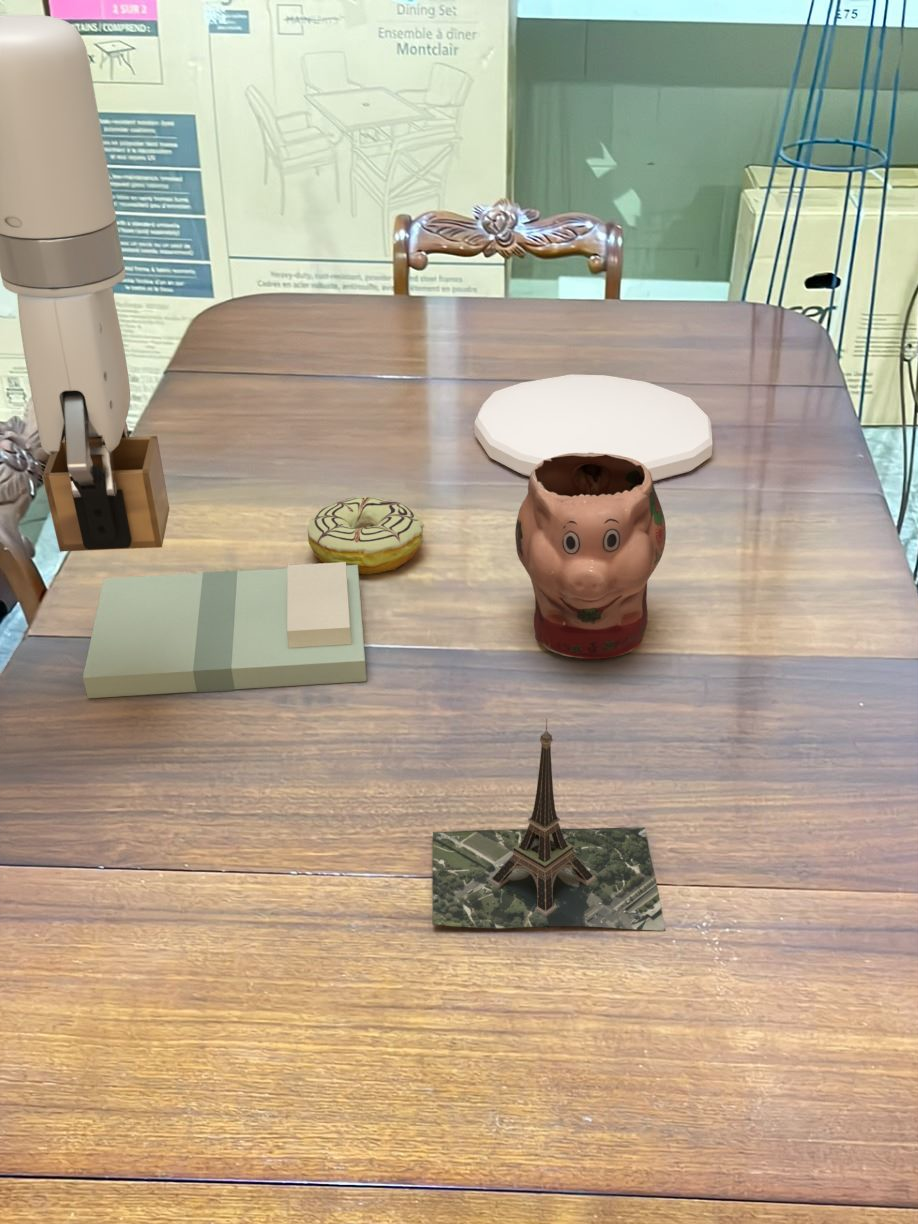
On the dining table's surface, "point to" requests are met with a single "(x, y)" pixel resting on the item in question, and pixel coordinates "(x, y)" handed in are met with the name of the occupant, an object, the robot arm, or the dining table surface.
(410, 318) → the dining table surface
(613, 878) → the eiffel tower figurine
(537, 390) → the decorative plate
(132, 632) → the bed
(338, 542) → the decorated donut
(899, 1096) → the dining table surface
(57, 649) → the dining table surface
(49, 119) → the robot arm
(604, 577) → the decorative planter
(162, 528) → the open wooden box
